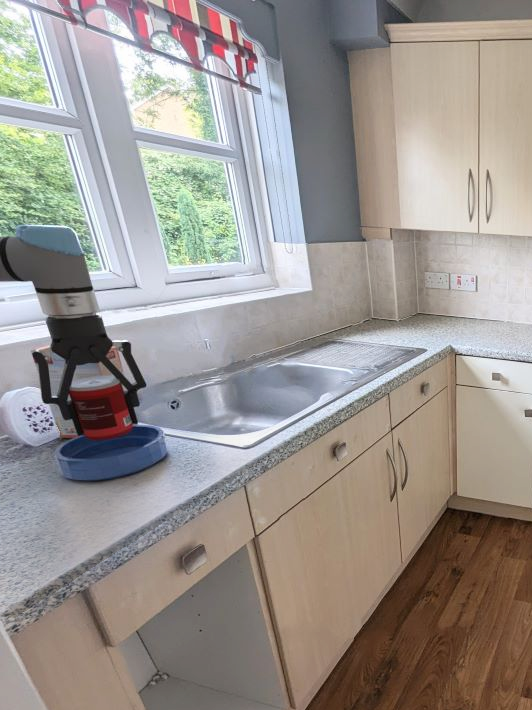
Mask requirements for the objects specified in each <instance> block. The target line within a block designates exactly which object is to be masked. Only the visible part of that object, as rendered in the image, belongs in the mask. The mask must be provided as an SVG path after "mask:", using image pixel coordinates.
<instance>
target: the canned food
mask: <svg viewBox="0 0 532 710" xmlns="http://www.w3.org/2000/svg"><path fill="white" fill-rule="evenodd" d="M69 388H70V392H69V395H70V398H71V401H72V403H73V405H74V408H75V411H76V414H77V417H78V420H79V423H80V426H81V429H82V432H83V435H84V436H85V437H86V438H87V439H90V440H106V439H111V438H116V437H119V436H122V435H125V434H127V433H129V432H130V431H131V430H132V428H133V423H132V419H131V416H130V412H129V409H128V405H127V402H126V398H125V395H124V391H123V387H122V384H121V383H120V381H119V379H117V378H116V377H115V376H93V377H87V378H82V379H78V380H75V381H72V384H71V386H70V387H69Z"/></svg>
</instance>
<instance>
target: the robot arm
mask: <svg viewBox="0 0 532 710" xmlns="http://www.w3.org/2000/svg"><path fill="white" fill-rule="evenodd" d="M14 230H15V234H14V235H12V236H11V235H10V236H9V235H8V236H0V283H1V282H3V283H7V282H9V283H10V282H11V283H12V282H21V283H22V282H24V283H26V282H27V283H28V282H31V283H32V285H33V287H34V291H35V294H36V297H37V300H38V302H39V305H40V309H41V311H42V314H43V315H45V316H47V317H46V318H45V319H44V321H45V324H46V327H47V330H48V333H49V335H50V339H51V342H50V345H49V346H50V347H48V348H44V349H40V350H38V349H37V348H33V349H31V350H32V351H31V350H30V353H31V357H32V358H33V357H34V359H35V360H36V362H37V363H38V371H37V373H38V372H39V374H38V379H39V380H38V381H39V388H40V394H41V395H40V397H41V400H42V403H43V404H44V405H49V404H57V405H58V406H59V408H60V411H61V414H62V417H63V419H64V420H70V419H72V421H73V424H74V426H75V429H76V432H77V435H78V436H81V435H83V432H82V429H81V426H80V423H79V420H78V417H77V414H76V411H75V408H74V405H73V403H72V401H71V400H69V401H67V400H68V396H69V392H70V388H69V387H70V386H71V384H72V380H73V376H74V372H75V370H76V366H77V365H78V366H79V365H84V364H87V363H100V362H101V363H102V364H103V365H104V366H105V367H106V368H107V369H108V370H109V371H110V372H111V373H112V374H113V375H114V376H115V377H116V378H117V379H119V381H120V383H121V384H122V385H123V386H124V387H125V388H126V389H127V391H124V395H125V398H126V402H127V405H128V409H129V412H130V416H131V419H132V423H133V424H138V425H139V421H138V417H137V414H136V411H135V408H137V407H140V405H141V403H140V399H139V395H138V391H139V390H142V389H145V388H147V385H148V384H147V382H146V381H145V378H144V377H143V374H142V372H141V371H140V368H139V366H138V364H137V362H136V360H135V358H134V356H133V353H132V344H131V342H130V341H129V340H127V339H121V340H112V339H111V338H110V337H109V336H108V334H107V331H106V330H107V329H106V327H105V323H104V320H103V316H102V315H101V314H99V313H98V312H99V311H100V306H99V303H98V299H97V297H96V293H95V290H94V286H93V283H92V279H91V275H90V272H89V268H88V263H87V261H86V257H85V256H86V254H85V251H84V250H83V248H82V245H81V242H80V239H79V237H78V234H77V232H76V231H75V230H74V229H73V228H71V227H69V226H65V225H41V224H18V225H16V226H15V228H14ZM112 347H116V349H117V350H118V353H119V352H120V353H121V355H122V357H123V359H124V361H125V363H126V365H127V367H128V369H129V371H130V373H131V375H132V376H133V379H134V382H132V383H131V381H129V379H128V378H127V377H126V376H125V374H124V375H123V374H122V373H121V372H120V371H119V370H118V369H117V368H116V367H115V365H114V364H113V363H112V362H111V361H110V360H109V359H108V358H107V357H106V355H107V354H108V352H109V351H110V349H111V348H112ZM52 353H55V354H57V355H58V356H60V357H62V358H63V359H65V364H64V370H63V374H62V378H61V382H60V386H59V390H58V393H57V396H52V394H51V385H50V376H49V367H48V363H47V361H49V360H50V359H51V354H52ZM34 359H33V360H34Z"/></svg>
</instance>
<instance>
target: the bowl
mask: <svg viewBox="0 0 532 710" xmlns="http://www.w3.org/2000/svg"><path fill="white" fill-rule="evenodd" d="M168 452H169V447H168V444H167V440H166V435H165V431H164V429H162V428H160V427H159V426H156V425H155V426H154V425H150V424H138V425H133V428H132V430H131V431H130V432H129V433H127V434H125V435H122V436H119V437H116V438H111V439H106V440H90V439H87V438H86V437H85V436H84V435H81V436H78V437H75V438H70V439H69V440H67V441H64V442H63V443H61V444H60V445H59V446H57V447H56V448H55V450H54V452H53V455H54V459H55V462H56V464H57V467H58V470H59V472H60V474H61V476H63V477H64V478H66V479H69V480H74V481H89V482H91V481H103V480H110V479H115V478H116V479H117V478H120V477H124V476H128V475H132V474H135V473H137V472H141V471H142V470H143V471H144V470H145V469H147V468H149V467H151V466H152V465H154V464H156V463H157V462H159V461H160V460H162V459H163V458H164V457H165V456H166V455H167V454H168Z"/></svg>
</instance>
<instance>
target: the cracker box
mask: <svg viewBox="0 0 532 710" xmlns="http://www.w3.org/2000/svg"><path fill="white" fill-rule="evenodd" d="M48 347H50V345H46V346H42V347H37V348H36V349H38V350H40V349H44V348H48ZM32 350H33V349H30V352H31V351H32ZM106 357H107V358H108V359H109V360H110V361H111V362H112V363H113V364H114V365H115V367H116V368H117V369H118V370H119V371H120V372H121V373H122V374H123V375H124V376H125V373H124V367H123V365H122V361H121V358H120V357H121V356H120V354H119V351H118V350H117V349H116V347H114V346H112V348H111V349H110V351H109V352H108V354H107V355H106ZM32 360H33V362H34V364H35V367H36V371H37V373H38V375H39V372H38V363H37V362H36V360H35V359H34V357H33V356H32ZM47 363H48V367H49V376H50V385H51V394H52V396H57V393H58V390H59V386H60V382H61V378H62V374H63V370H64V364H65V359H63V358H62V357H60V356H58V355H57V354H55V353H52V354H51V359H50V360H49V361H47ZM93 376H114V375H113V374H112V373H111V372H110V371H109V370H108V369H107V368H106V367H105V366H104V365H103V364H102V363H101V362H100V363H87V364H84V365H79V366H78V365H77V366H76V370H75V372H74V376H73V380H72V381H75V380H78V379H82V378H87V377H93ZM122 387H123V391H127V389H126V388H125V387H124V386H123V385H122ZM69 400H71V398H70V395H69V396H68V400H67V401H69ZM48 405H49V409H50V412H51V415H52V418H53V420H54V424H55V426H56V425H57V426H56V428H57V427H58V429H59V431H60V435H59V438H61V439H73V438H75V437H78V435H77V432H76V429H75V426H74V424H73V421H72V419H70V420H64V419H63V417H62V414H61V411H60V408H59V406H58V405H57V404H48ZM133 425H139V423H138V424H133ZM58 429H57V430H58Z"/></svg>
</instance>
